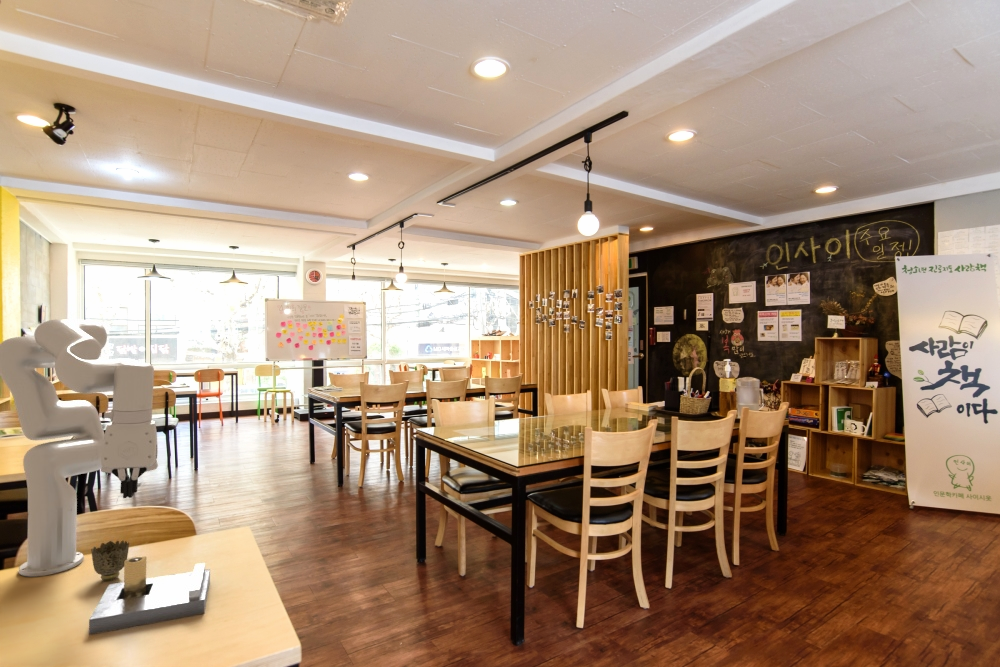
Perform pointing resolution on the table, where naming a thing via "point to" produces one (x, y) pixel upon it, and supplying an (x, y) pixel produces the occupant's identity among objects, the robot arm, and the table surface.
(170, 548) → the table surface
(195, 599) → the plate
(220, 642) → the table surface
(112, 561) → the cup
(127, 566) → the brass bushing
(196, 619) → the table surface
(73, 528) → the robot arm
